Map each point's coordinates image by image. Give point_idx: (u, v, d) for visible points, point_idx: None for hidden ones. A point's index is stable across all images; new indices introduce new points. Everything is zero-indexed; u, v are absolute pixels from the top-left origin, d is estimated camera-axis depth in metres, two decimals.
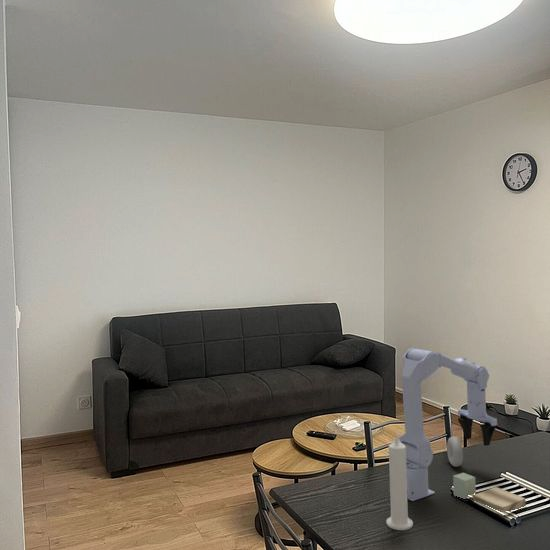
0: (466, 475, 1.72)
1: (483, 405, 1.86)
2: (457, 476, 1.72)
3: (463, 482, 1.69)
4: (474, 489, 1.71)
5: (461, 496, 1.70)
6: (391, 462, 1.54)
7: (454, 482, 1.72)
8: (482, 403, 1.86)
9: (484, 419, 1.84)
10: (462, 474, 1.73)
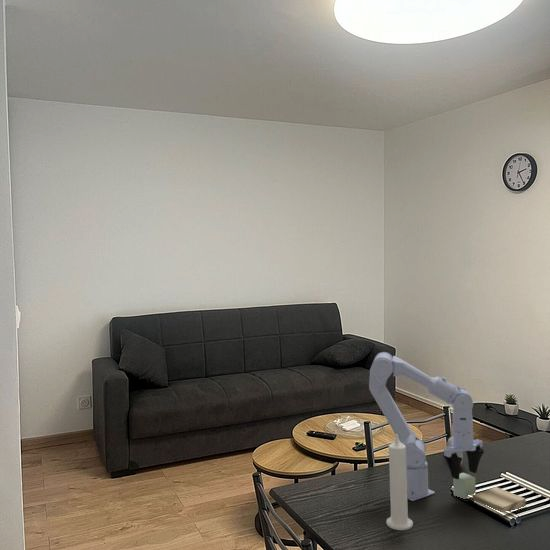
0: (466, 475, 1.72)
1: (456, 434, 1.70)
2: None
3: (463, 482, 1.69)
4: (474, 489, 1.71)
5: (461, 496, 1.70)
6: (391, 462, 1.54)
7: (454, 482, 1.72)
8: (455, 432, 1.70)
9: None
10: (462, 474, 1.73)
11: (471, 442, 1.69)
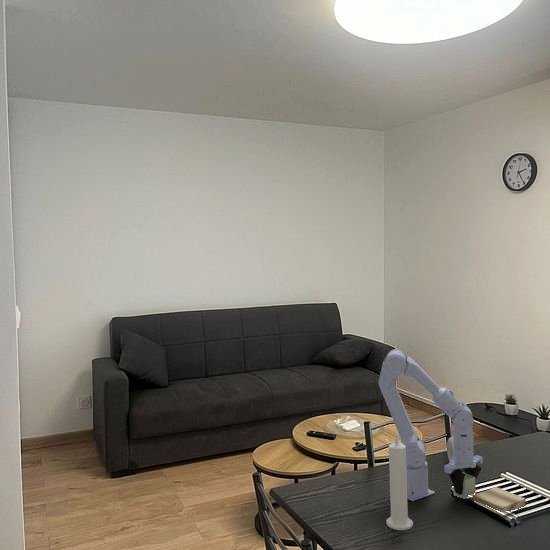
0: (466, 475, 1.72)
1: (456, 451, 1.70)
2: None
3: (463, 482, 1.69)
4: (474, 489, 1.71)
5: (461, 496, 1.70)
6: (391, 462, 1.54)
7: None
8: (455, 448, 1.70)
9: None
10: None
11: (472, 459, 1.69)
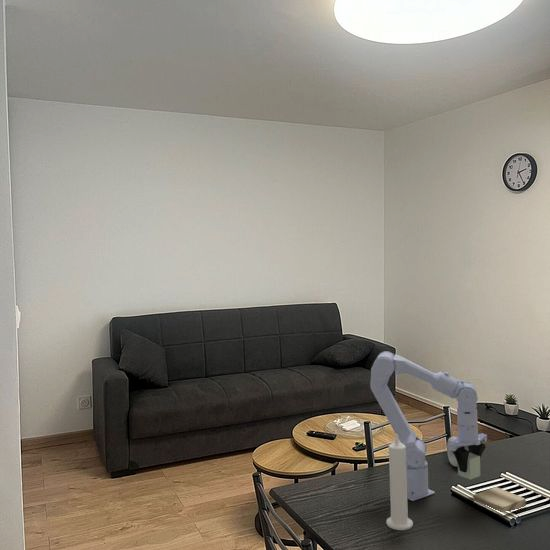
0: (471, 454, 1.71)
1: (461, 428, 1.69)
2: None
3: (468, 461, 1.68)
4: (479, 468, 1.69)
5: (466, 475, 1.69)
6: (391, 462, 1.54)
7: None
8: (460, 426, 1.69)
9: None
10: None
11: (476, 436, 1.68)
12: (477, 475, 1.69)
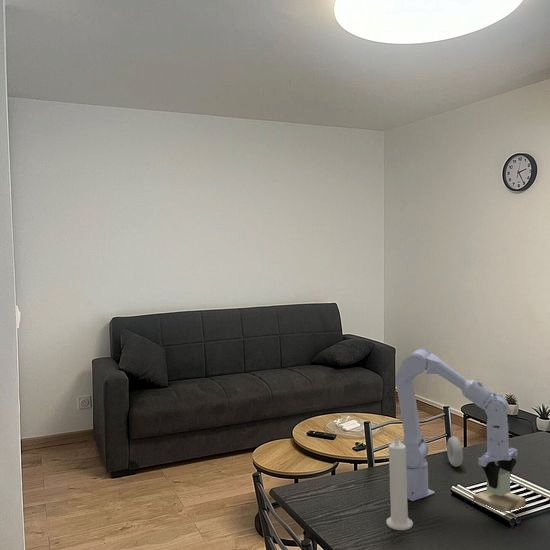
0: (500, 469, 1.65)
1: (491, 443, 1.63)
2: None
3: None
4: (509, 484, 1.64)
5: (495, 491, 1.63)
6: (391, 462, 1.54)
7: None
8: (490, 440, 1.63)
9: None
10: None
11: (507, 451, 1.62)
12: (507, 491, 1.63)
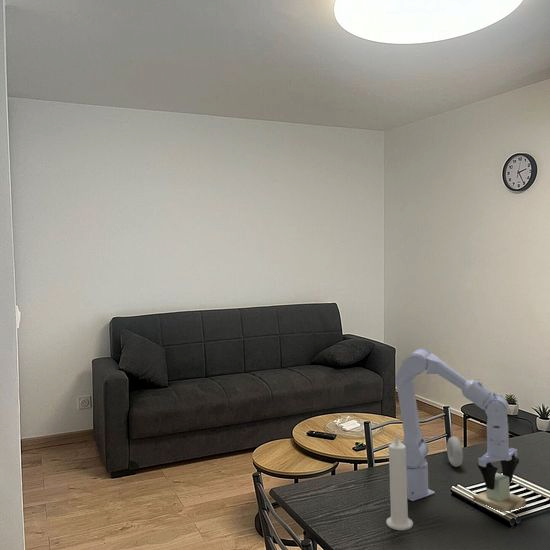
0: (499, 475, 1.65)
1: (491, 443, 1.63)
2: None
3: (497, 482, 1.62)
4: (508, 489, 1.64)
5: (495, 497, 1.63)
6: (391, 462, 1.54)
7: None
8: (490, 440, 1.63)
9: None
10: None
11: (507, 451, 1.62)
12: (507, 497, 1.63)
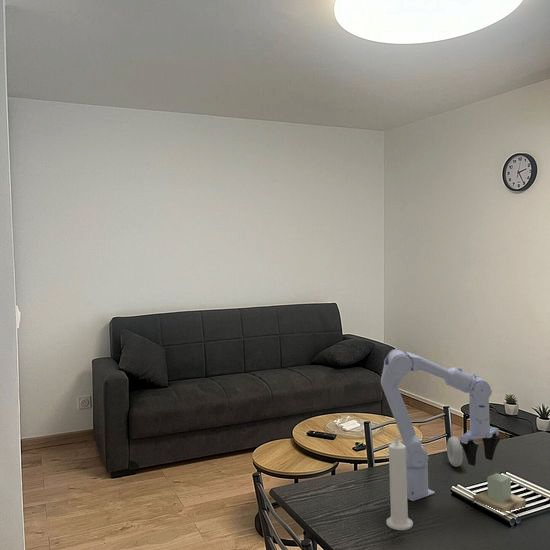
0: (500, 475, 1.65)
1: (473, 422, 1.72)
2: (492, 477, 1.64)
3: (499, 483, 1.62)
4: (509, 490, 1.64)
5: (497, 498, 1.62)
6: (391, 462, 1.54)
7: (489, 483, 1.64)
8: (472, 419, 1.72)
9: None
10: (496, 475, 1.66)
11: (488, 429, 1.71)
12: (508, 497, 1.63)
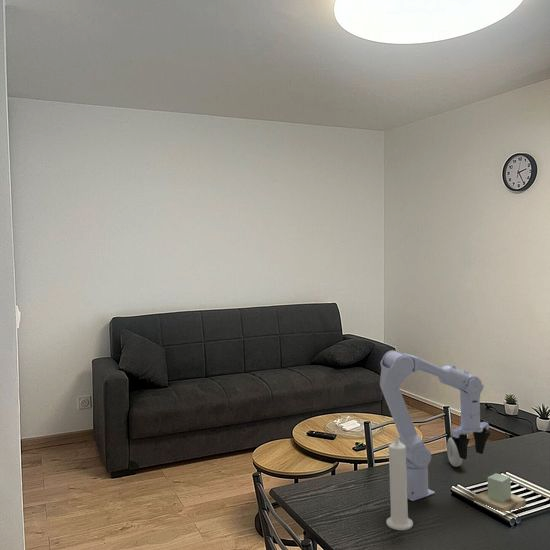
0: (500, 476, 1.65)
1: (464, 416, 1.77)
2: (492, 477, 1.64)
3: (500, 483, 1.61)
4: (509, 490, 1.64)
5: (497, 498, 1.62)
6: (391, 462, 1.54)
7: (489, 484, 1.64)
8: (463, 414, 1.77)
9: None
10: (496, 475, 1.66)
11: (478, 424, 1.76)
12: (508, 497, 1.63)
